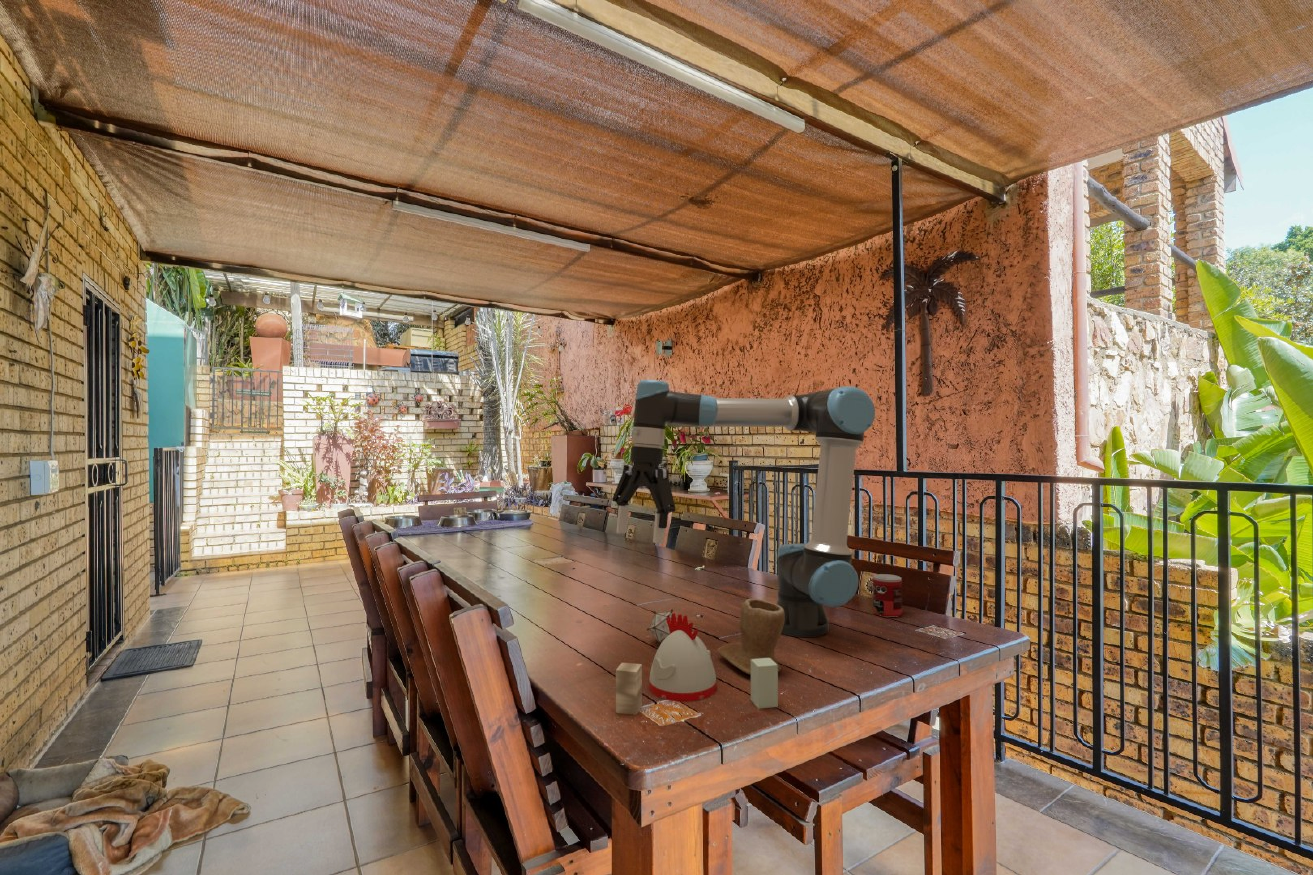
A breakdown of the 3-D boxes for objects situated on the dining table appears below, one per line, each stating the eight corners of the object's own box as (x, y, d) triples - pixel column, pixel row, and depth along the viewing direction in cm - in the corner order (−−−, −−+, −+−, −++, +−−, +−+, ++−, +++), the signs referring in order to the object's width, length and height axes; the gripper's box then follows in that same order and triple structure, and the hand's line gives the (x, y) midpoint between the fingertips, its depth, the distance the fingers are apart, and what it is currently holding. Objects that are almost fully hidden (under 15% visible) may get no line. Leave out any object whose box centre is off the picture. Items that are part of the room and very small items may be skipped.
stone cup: (795, 675, 130) (795, 606, 130) (746, 682, 126) (746, 611, 126) (761, 652, 144) (760, 590, 145) (716, 658, 141) (716, 594, 141)
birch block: (642, 705, 116) (641, 664, 116) (636, 714, 112) (636, 671, 112) (622, 703, 116) (622, 662, 117) (616, 712, 113) (615, 670, 113)
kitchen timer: (680, 669, 134) (679, 602, 134) (729, 686, 125) (729, 614, 125) (635, 687, 124) (635, 615, 124) (685, 708, 115) (685, 629, 115)
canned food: (870, 610, 180) (870, 573, 180) (898, 611, 179) (898, 574, 179) (876, 617, 172) (875, 579, 172) (905, 618, 171) (905, 580, 171)
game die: (670, 659, 150) (679, 635, 144) (639, 645, 152) (646, 620, 146) (682, 632, 157) (690, 608, 152) (652, 619, 159) (659, 595, 153)
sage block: (770, 697, 119) (769, 657, 119) (777, 706, 115) (777, 664, 115) (750, 699, 118) (750, 659, 118) (758, 708, 114) (757, 666, 114)
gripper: (603, 442, 147) (595, 529, 146) (671, 447, 128) (662, 547, 127) (627, 445, 151) (619, 529, 151) (696, 450, 132) (688, 546, 132)
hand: (639, 537), depth 139 cm, fingers open, 13 cm apart
